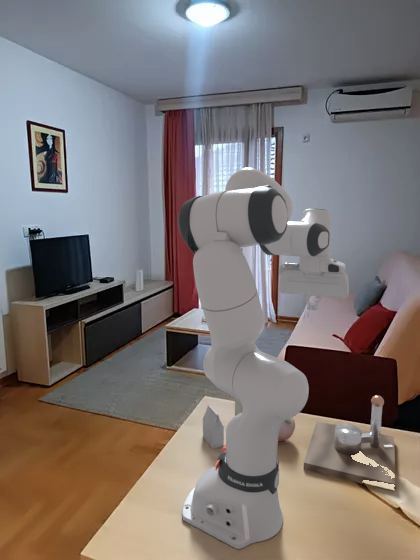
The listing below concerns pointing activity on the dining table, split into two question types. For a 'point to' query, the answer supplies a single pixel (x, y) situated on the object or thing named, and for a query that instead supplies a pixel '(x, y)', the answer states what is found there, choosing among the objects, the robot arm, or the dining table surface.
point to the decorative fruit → (286, 429)
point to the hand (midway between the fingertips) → (312, 309)
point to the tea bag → (213, 428)
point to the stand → (348, 457)
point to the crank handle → (352, 437)
